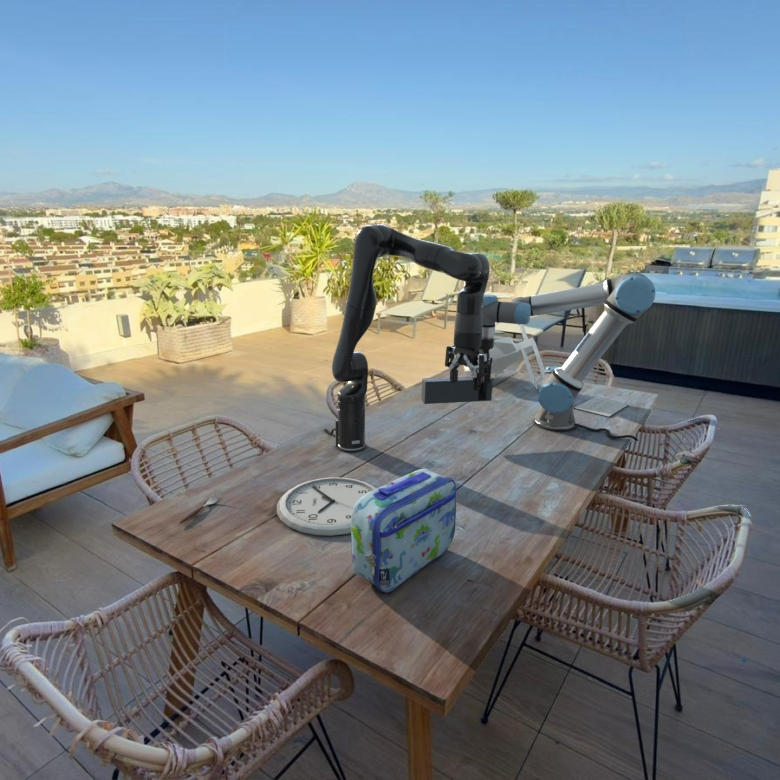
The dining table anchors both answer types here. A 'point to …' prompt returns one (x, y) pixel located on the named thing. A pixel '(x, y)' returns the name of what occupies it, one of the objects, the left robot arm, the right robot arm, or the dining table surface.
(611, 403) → the invitation card
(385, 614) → the dining table surface
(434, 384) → the bar
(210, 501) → the fork
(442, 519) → the lunch box
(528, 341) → the white plastic object
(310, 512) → the wall clock
